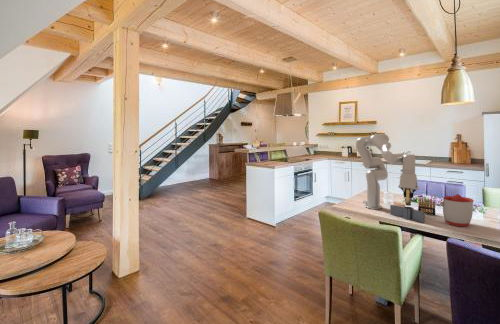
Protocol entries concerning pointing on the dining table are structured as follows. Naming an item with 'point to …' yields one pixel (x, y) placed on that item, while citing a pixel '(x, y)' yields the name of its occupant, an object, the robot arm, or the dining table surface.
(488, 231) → the dining table surface
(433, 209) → the ammunition clip
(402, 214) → the hinge
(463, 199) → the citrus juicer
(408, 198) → the hinge pin
